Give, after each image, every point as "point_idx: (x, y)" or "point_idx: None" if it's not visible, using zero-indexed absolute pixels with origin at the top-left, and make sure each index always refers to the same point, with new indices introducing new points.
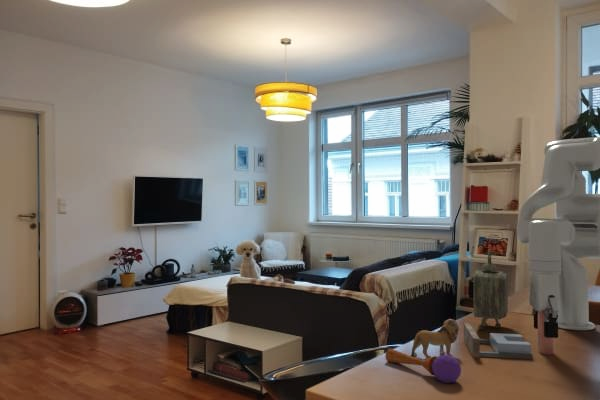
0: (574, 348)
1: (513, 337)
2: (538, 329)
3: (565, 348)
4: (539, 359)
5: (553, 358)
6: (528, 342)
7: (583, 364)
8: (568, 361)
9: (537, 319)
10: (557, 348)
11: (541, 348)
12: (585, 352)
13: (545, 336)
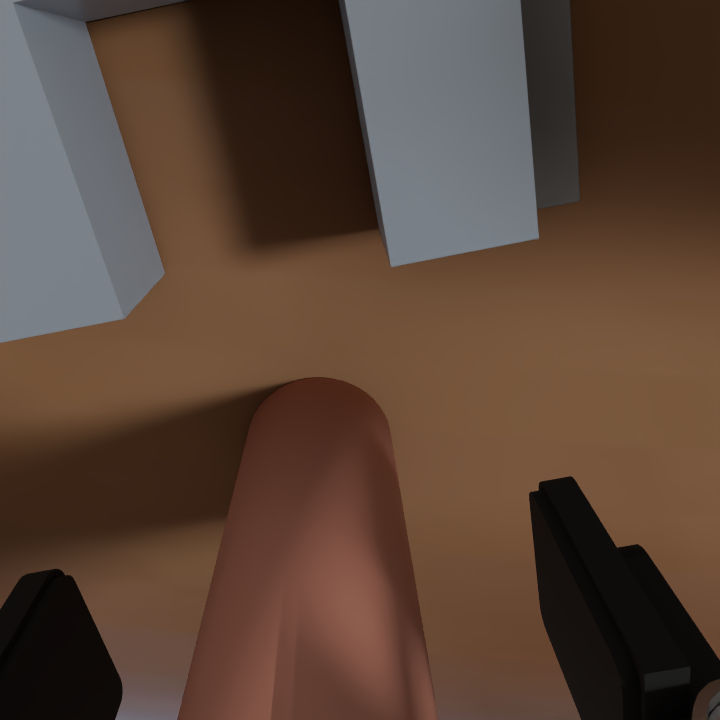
0: (548, 657)
1: (368, 122)
2: (276, 544)
3: (527, 600)
4: (27, 368)
5: (137, 487)
6: (90, 323)
7: None
8: (106, 585)
9: (584, 630)
10: (508, 544)
11: (255, 429)
12: (447, 710)
13: (23, 584)
